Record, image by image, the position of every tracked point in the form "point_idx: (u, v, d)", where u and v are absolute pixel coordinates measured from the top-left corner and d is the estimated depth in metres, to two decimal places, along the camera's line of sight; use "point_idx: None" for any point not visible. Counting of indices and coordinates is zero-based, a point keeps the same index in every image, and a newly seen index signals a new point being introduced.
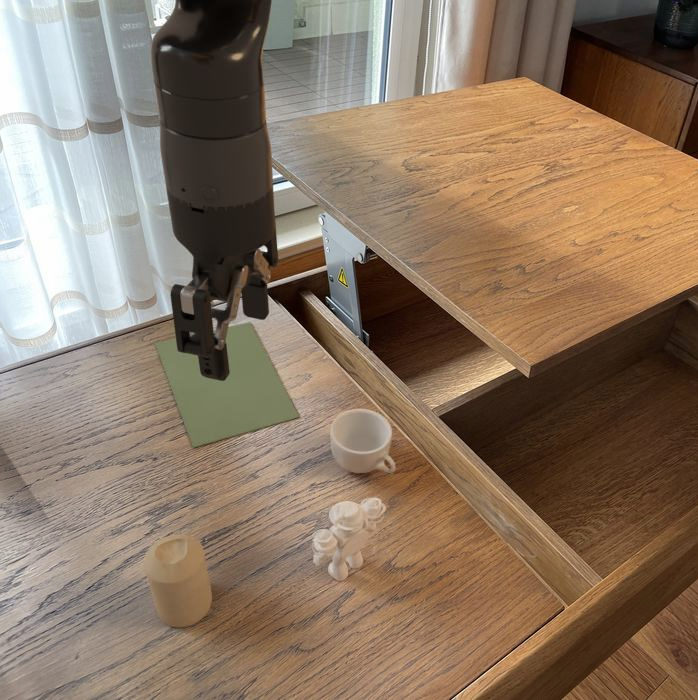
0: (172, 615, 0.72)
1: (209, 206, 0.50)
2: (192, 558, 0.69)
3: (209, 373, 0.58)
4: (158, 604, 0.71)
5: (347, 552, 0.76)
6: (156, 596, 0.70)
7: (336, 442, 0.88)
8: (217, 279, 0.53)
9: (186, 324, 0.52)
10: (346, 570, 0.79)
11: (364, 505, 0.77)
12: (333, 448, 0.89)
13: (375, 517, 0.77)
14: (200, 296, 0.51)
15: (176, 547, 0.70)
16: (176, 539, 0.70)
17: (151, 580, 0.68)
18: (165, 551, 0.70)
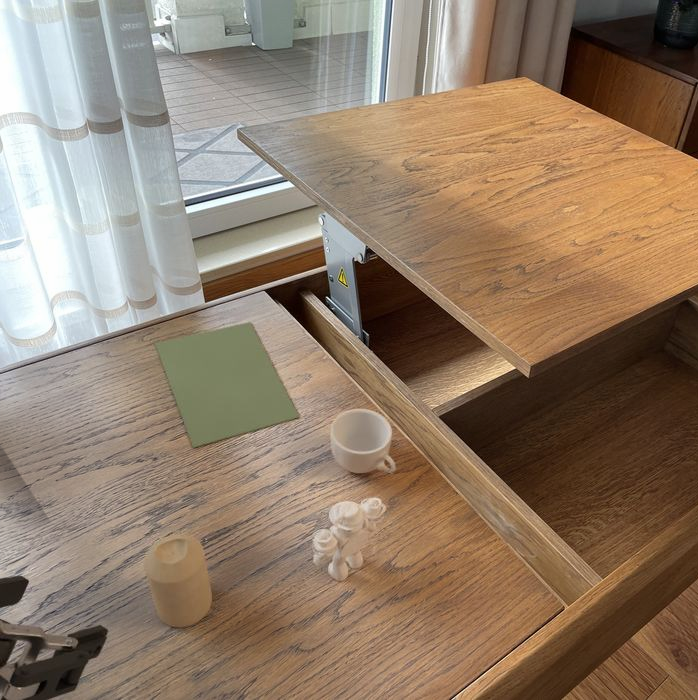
0: (172, 615, 0.72)
1: None
2: (192, 558, 0.69)
3: (99, 647, 0.55)
4: (158, 604, 0.71)
5: (347, 552, 0.76)
6: (156, 596, 0.70)
7: (336, 442, 0.88)
8: None
9: (49, 687, 0.48)
10: (346, 570, 0.79)
11: (364, 505, 0.77)
12: (333, 448, 0.89)
13: (375, 517, 0.77)
14: (21, 679, 0.46)
15: (176, 547, 0.70)
16: (176, 539, 0.70)
17: (151, 580, 0.68)
18: (165, 551, 0.69)
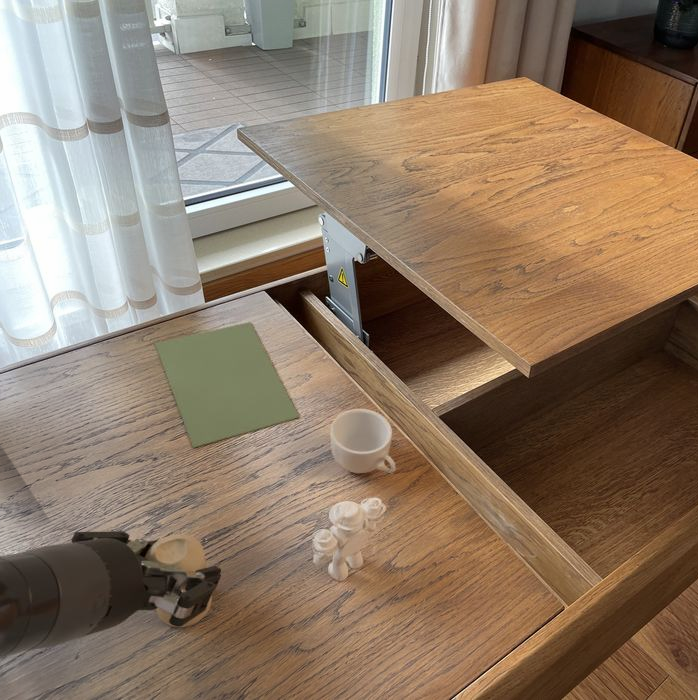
0: None
1: (108, 601, 0.56)
2: (192, 558, 0.69)
3: (216, 582, 0.71)
4: None
5: (347, 552, 0.76)
6: None
7: (336, 442, 0.88)
8: (159, 589, 0.62)
9: (197, 608, 0.64)
10: (346, 570, 0.79)
11: (364, 505, 0.77)
12: (333, 448, 0.89)
13: (375, 517, 0.77)
14: (188, 602, 0.62)
15: (176, 547, 0.70)
16: (176, 539, 0.70)
17: None
18: (165, 551, 0.70)
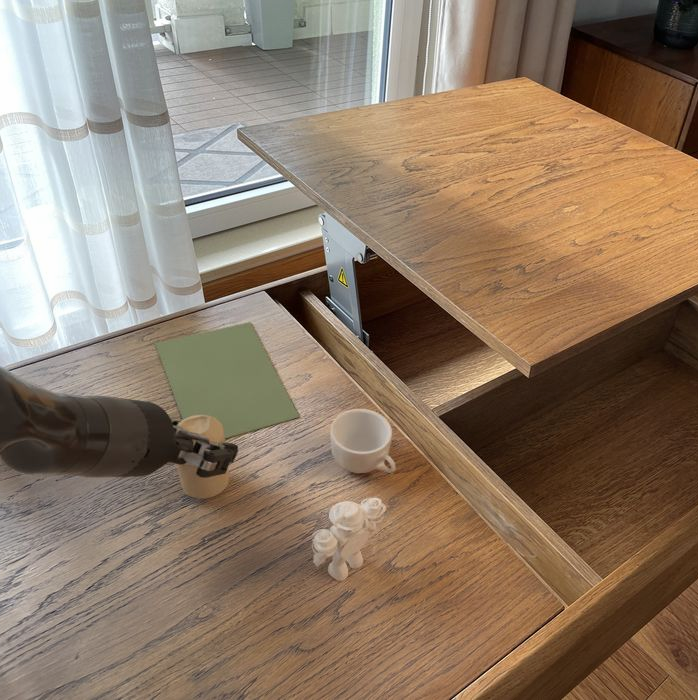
0: (195, 486, 0.82)
1: (147, 444, 0.67)
2: (213, 432, 0.80)
3: (233, 456, 0.82)
4: (183, 474, 0.82)
5: (347, 552, 0.76)
6: (182, 466, 0.81)
7: (336, 442, 0.88)
8: (187, 446, 0.73)
9: (219, 467, 0.75)
10: (346, 570, 0.79)
11: (364, 505, 0.77)
12: (333, 448, 0.89)
13: (375, 517, 0.77)
14: (212, 457, 0.72)
15: (199, 424, 0.80)
16: (199, 417, 0.81)
17: None
18: (190, 426, 0.80)
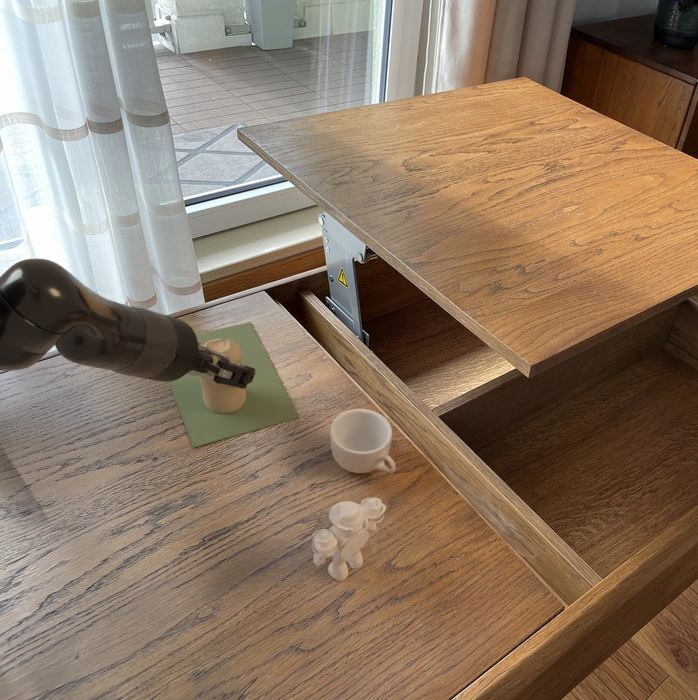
0: (217, 401, 0.94)
1: (176, 349, 0.79)
2: (233, 352, 0.92)
3: (252, 377, 0.92)
4: (206, 390, 0.93)
5: (347, 552, 0.76)
6: (206, 382, 0.92)
7: (336, 442, 0.88)
8: (209, 357, 0.84)
9: (236, 378, 0.86)
10: (346, 570, 0.79)
11: (364, 505, 0.77)
12: (333, 448, 0.89)
13: (375, 517, 0.77)
14: (226, 365, 0.83)
15: (221, 345, 0.92)
16: (220, 340, 0.93)
17: None
18: (213, 347, 0.92)
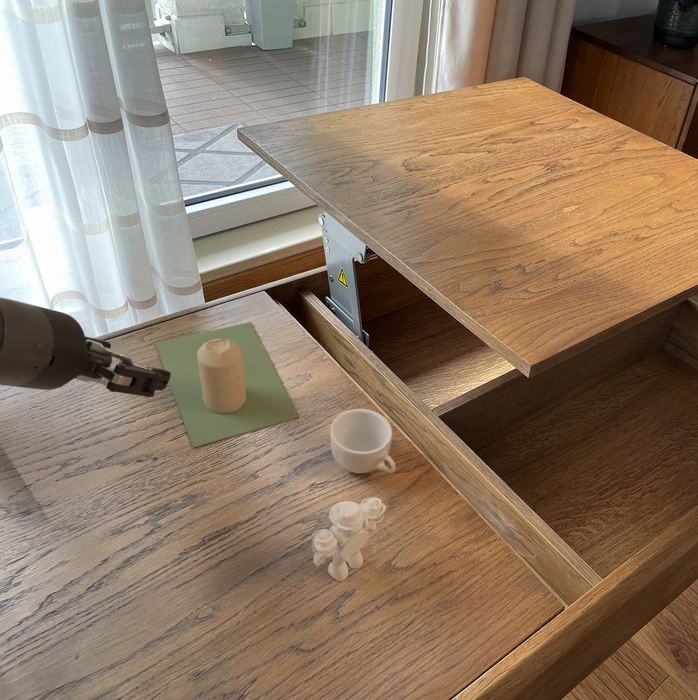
0: (217, 401, 0.94)
1: (51, 350, 0.63)
2: (233, 352, 0.92)
3: (165, 382, 0.77)
4: (207, 390, 0.93)
5: (347, 552, 0.76)
6: (206, 382, 0.92)
7: (336, 442, 0.88)
8: (102, 359, 0.69)
9: (137, 385, 0.70)
10: (346, 570, 0.79)
11: (364, 505, 0.77)
12: (333, 448, 0.89)
13: (375, 517, 0.77)
14: (121, 369, 0.68)
15: (221, 345, 0.92)
16: (220, 340, 0.93)
17: (203, 366, 0.91)
18: (213, 347, 0.92)
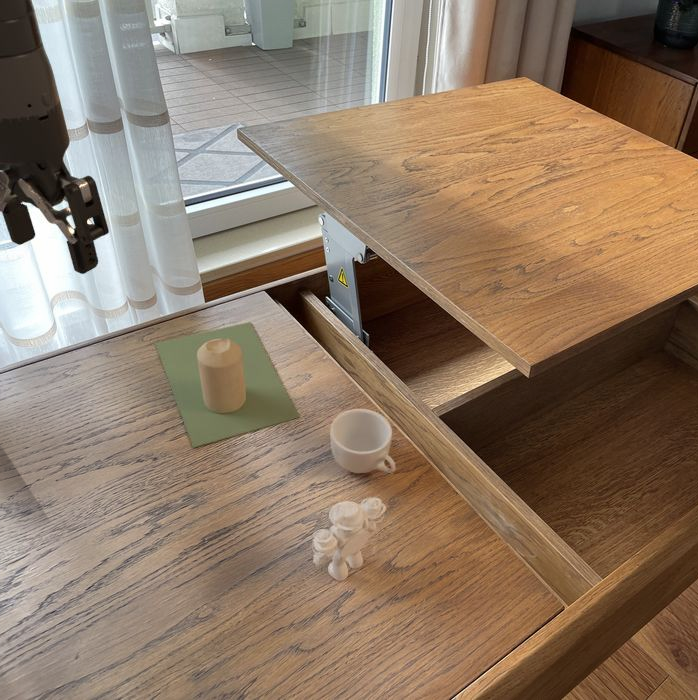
0: (217, 401, 0.94)
1: (50, 109, 0.61)
2: (233, 352, 0.92)
3: (91, 262, 0.70)
4: (207, 390, 0.93)
5: (347, 552, 0.76)
6: (206, 382, 0.92)
7: (336, 442, 0.88)
8: (69, 173, 0.65)
9: (89, 211, 0.65)
10: (346, 570, 0.79)
11: (364, 505, 0.77)
12: (333, 448, 0.89)
13: (375, 517, 0.77)
14: (91, 179, 0.64)
15: (221, 345, 0.92)
16: (221, 340, 0.93)
17: (203, 366, 0.91)
18: (213, 347, 0.92)
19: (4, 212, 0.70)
